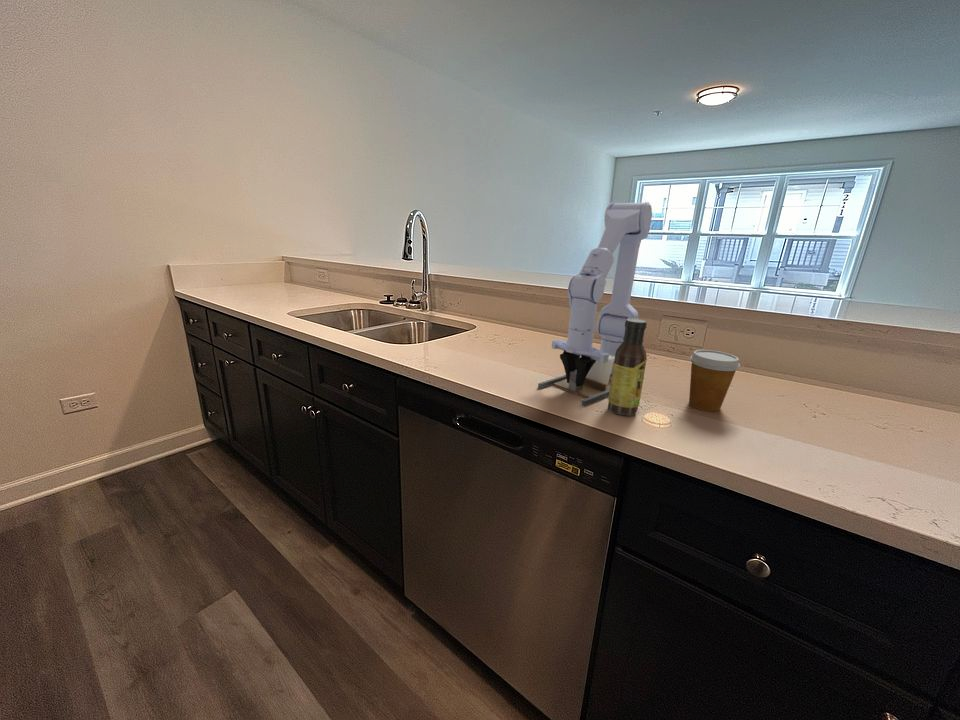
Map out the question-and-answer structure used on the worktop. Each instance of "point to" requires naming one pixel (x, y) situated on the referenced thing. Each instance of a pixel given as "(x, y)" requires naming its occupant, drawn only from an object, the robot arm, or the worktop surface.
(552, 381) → the lane rails
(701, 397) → the disposable coffee cup
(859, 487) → the worktop surface
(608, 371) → the white cup
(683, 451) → the worktop surface
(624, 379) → the sauce bottle
